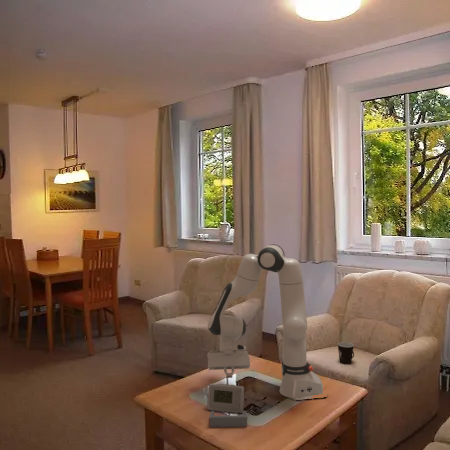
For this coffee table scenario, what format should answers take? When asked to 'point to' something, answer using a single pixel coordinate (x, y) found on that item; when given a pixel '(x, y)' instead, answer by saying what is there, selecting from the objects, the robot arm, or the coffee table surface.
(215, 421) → the dock
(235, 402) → the digital clock
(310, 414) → the coffee table surface
